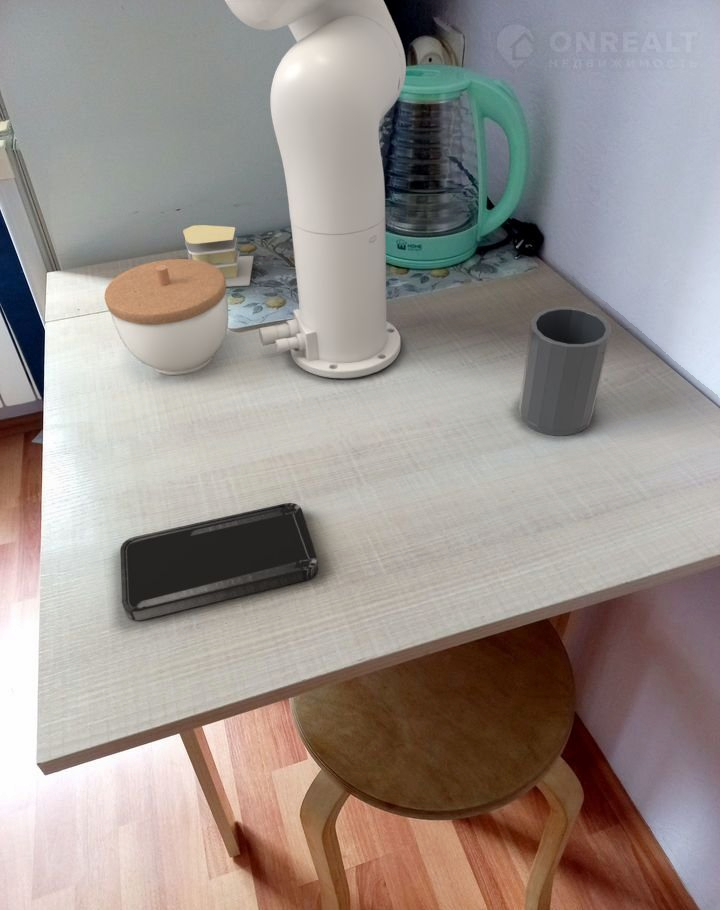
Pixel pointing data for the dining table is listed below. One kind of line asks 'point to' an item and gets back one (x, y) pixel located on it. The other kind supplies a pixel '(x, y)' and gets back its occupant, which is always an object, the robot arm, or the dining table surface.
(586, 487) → the dining table surface
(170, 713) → the dining table surface
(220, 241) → the stacked layers on plate
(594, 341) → the cup
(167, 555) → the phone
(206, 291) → the lidded bowl
